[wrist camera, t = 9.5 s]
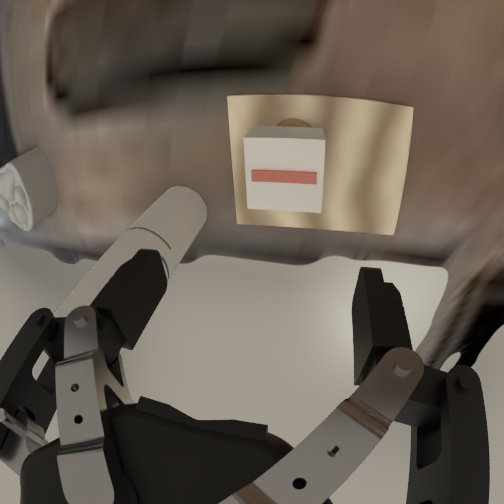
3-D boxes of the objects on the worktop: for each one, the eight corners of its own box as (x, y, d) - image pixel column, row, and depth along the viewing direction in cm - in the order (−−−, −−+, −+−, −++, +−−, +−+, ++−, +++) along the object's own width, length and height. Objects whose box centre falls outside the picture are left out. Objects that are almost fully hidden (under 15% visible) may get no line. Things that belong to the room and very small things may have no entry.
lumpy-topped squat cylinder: (44, 143, 36) (7, 162, 29) (67, 208, 43) (36, 234, 36) (17, 157, 39) (-15, 176, 32) (39, 214, 46) (11, 237, 39)
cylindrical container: (170, 233, 42) (75, 373, 22) (153, 190, 38) (30, 322, 18) (213, 229, 40) (127, 389, 20) (198, 181, 36) (76, 332, 16)
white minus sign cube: (323, 128, 21) (325, 141, 18) (320, 189, 25) (321, 215, 21) (255, 126, 22) (242, 138, 19) (258, 186, 26) (246, 210, 22)
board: (409, 106, 25) (413, 107, 24) (391, 229, 34) (393, 235, 33) (230, 95, 29) (227, 96, 27) (239, 218, 38) (237, 223, 37)
